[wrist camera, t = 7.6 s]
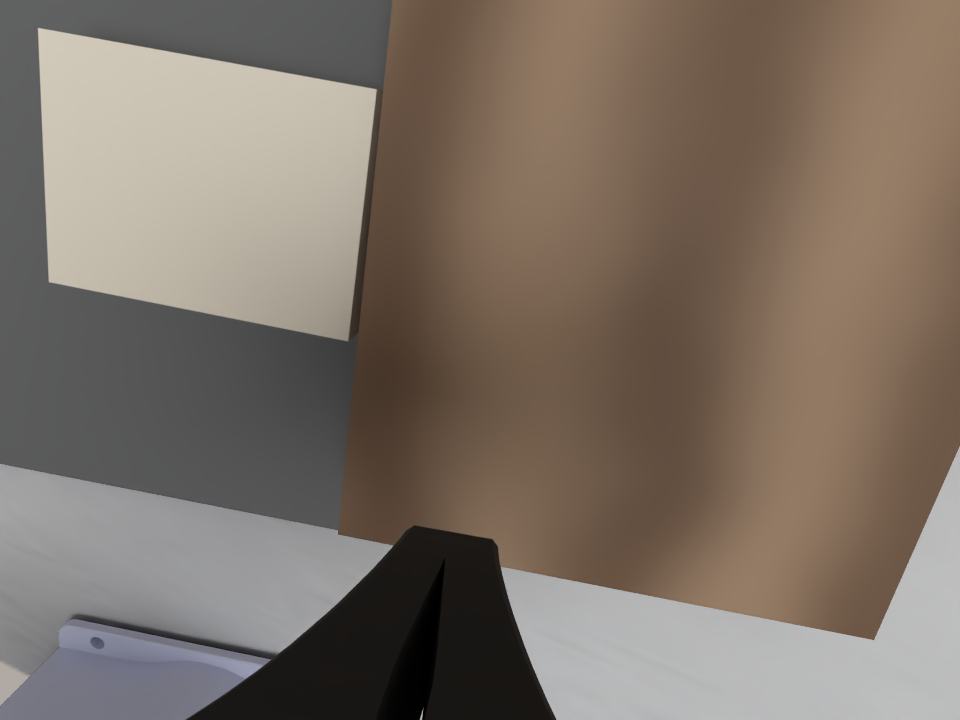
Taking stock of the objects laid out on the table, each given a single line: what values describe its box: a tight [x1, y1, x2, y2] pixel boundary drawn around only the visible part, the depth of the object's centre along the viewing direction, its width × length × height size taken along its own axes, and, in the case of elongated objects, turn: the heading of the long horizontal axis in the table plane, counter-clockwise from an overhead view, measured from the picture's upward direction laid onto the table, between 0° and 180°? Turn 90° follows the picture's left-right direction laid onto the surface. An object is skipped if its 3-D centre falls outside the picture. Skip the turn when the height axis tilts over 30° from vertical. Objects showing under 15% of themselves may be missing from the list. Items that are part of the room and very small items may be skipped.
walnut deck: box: [338, 0, 960, 640], centre depth 15 cm, size 14×16×4 cm
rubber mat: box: [0, 0, 392, 530], centre depth 17 cm, size 16×20×1 cm
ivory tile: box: [38, 28, 383, 341], centre depth 16 cm, size 8×6×2 cm
